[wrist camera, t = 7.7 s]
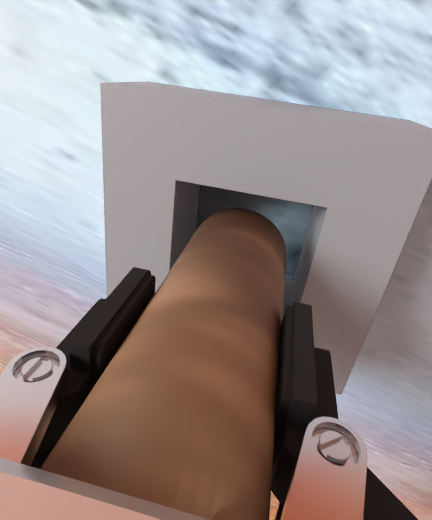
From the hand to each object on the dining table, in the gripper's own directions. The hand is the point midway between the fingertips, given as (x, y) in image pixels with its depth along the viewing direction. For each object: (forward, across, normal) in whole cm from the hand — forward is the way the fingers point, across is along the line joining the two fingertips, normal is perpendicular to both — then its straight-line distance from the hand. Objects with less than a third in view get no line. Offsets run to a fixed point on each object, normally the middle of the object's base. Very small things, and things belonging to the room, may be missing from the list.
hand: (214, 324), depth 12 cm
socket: (+10, 0, 0) cm, 10 cm away
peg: (+5, 0, 0) cm, 5 cm away
